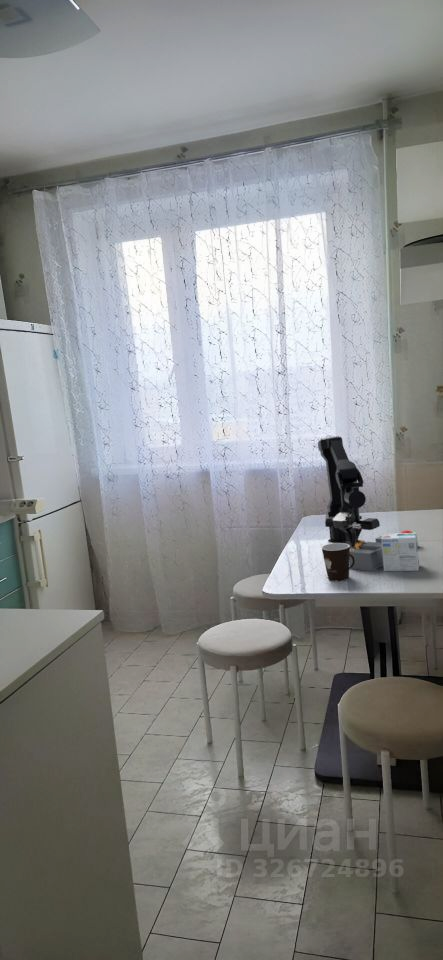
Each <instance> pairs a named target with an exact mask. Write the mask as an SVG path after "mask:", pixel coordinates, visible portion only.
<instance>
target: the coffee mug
mask: <svg viewBox="0 0 443 960" xmlns="http://www.w3.org/2000/svg"><path fill="white" fill-rule="evenodd" d="M350 548H351V544H350V543H349V544H348V543H345V542H342V543H341V542H332V543H329V544H328V543H327V544H323V545H322V546H321V551H322V557H323V561H324V566H325V569H326V570H325V571H326V575H327V576H326V577H327V579H328V581H331V582H341V581H342V580H343V581H346V580H348V579H349V578H350V570H351V568H352V567H353V565H354V563H355V560H354V557H353V556H352V555H351V554H350V550H351V549H350ZM349 556H351V558H352V560H353V563H352V565H351V566H350V561H349Z"/></svg>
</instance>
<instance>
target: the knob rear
mask: <svg viewBox="0 0 443 960" xmlns="http://www.w3.org/2000/svg"><path fill="white" fill-rule="evenodd" d="M368 542H369V541H368ZM368 542H367V541H365V540H363V539H358V540H357V541H356V542H355V548H360V549H362V545H363V544H366V543H368Z"/></svg>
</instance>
